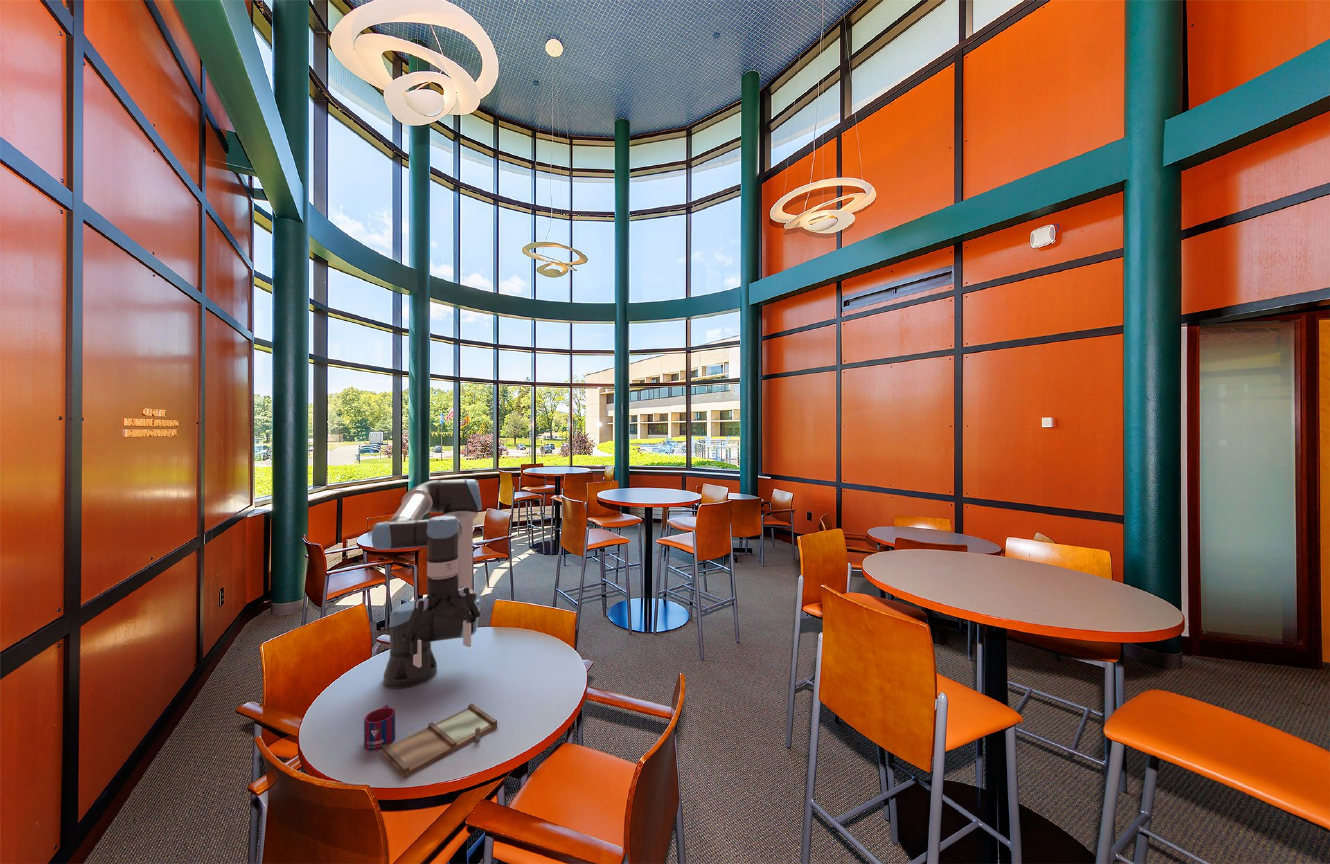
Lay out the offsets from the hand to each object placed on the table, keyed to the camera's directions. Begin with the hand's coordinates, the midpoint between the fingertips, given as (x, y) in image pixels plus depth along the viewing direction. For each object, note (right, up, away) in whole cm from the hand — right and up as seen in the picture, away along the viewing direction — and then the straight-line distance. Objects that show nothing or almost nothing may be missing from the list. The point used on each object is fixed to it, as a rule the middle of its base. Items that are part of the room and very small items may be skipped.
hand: (443, 655), depth 123 cm
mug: (-13, -19, -4) cm, 24 cm away
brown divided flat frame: (+2, -19, -6) cm, 20 cm away
